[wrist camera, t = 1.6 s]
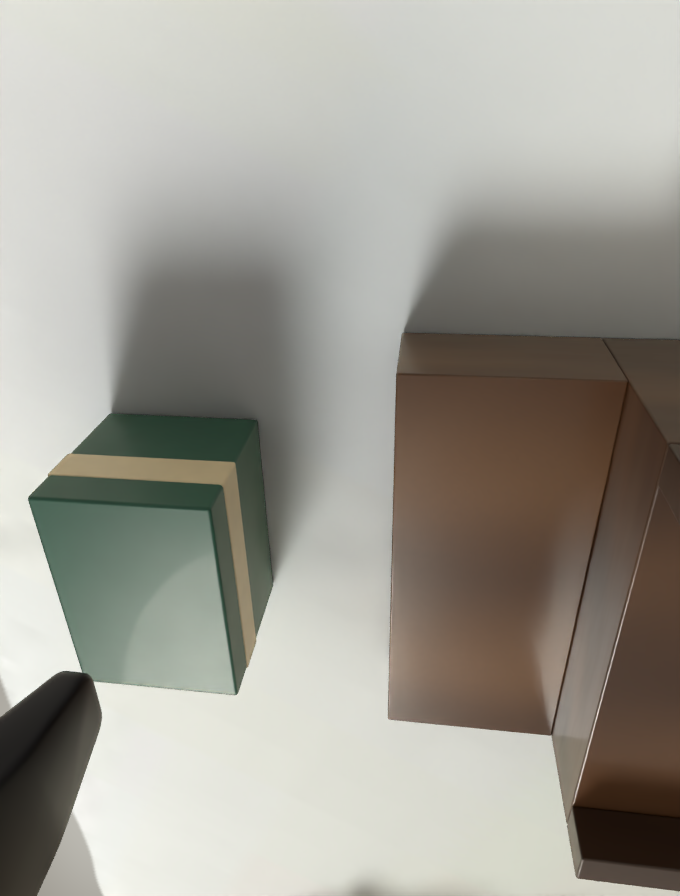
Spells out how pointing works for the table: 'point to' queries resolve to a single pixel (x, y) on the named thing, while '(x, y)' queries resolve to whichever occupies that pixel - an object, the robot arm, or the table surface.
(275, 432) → the table surface
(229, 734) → the table surface
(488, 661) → the step shelf
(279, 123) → the table surface
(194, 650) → the tea packet
